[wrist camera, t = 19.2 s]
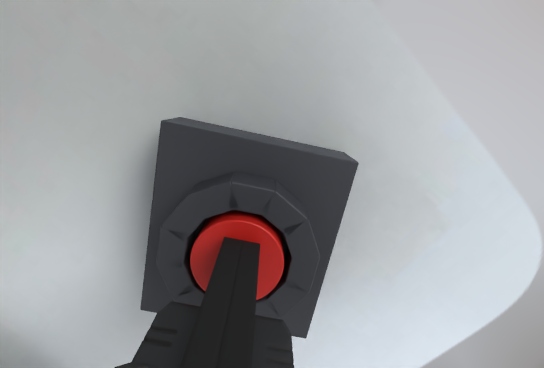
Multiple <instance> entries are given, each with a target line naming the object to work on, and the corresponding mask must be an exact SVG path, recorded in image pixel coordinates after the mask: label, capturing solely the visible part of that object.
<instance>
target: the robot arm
mask: <svg viewBox="0 0 544 368" xmlns="http://www.w3.org/2000/svg"><path fill="white" fill-rule="evenodd" d="M259 256H260V243H255V242H249V241H244V240H239V239H234V238H228V237H224V239H223V242H222V245H221V248H220V251H219V253H218V256H217V259H216V262H215V265H214V268H213V271H212V274H211V277H210V280H209V283H208V286H207V289H206V291H205V294H204V297H203V300H202V303H201V306H195V305H189V304H184V303H178V302H172V301H171V302H170V303H169V304H167V305H166V306H165V307H164V308H162V309H161V310H160V311H159V312H158V313H157V315H156V317H155V319H154V321H153V323H152V324H151V327H150V329H149V330H148V332H147V334H146V336H145V338H144V341H142V343H141V345H140V347H139V349H138V351H137V353H136V354H135V356H134V358H133V360H132V362H131V363H127V364H124V365H121V366H117V367H115V368H294V365H293V352H292V339H291V333H290V331H289V329H288V327H287V325H286V324H285V322H284V320H281V319H275V318H270V317H264V316H258V315H255V311H256V297H257V284H258V270H259Z"/></svg>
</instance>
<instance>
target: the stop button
mask: <svg viewBox="0 0 544 368" xmlns="http://www.w3.org/2000/svg"><path fill="white" fill-rule="evenodd" d="M224 237H228V238H234V239H239V240H244V241H249V242H255V243H260V256H259V270H258V284H257V297H256V300H258V299H260V298H262V297H264V296H265V295H267V294H268V293H269V292H271V291H272V290H273V289H274V288H275V286H276V285H277V284H278V282H279V280H280V278H281V276H282V273H283V269H284V253H283V242H282V236H281V233H280V231H279V229H278V228H276V227H275V226H274V225H273V224H272V223H270V222H269V221H268V220H267V219H266V218H264V217H263V216H262V215H258V214H253V213H248V212H243V211H238V210H231V211H228V212H225V213H222V214H219V215H215V216H212V217H210V218H209V219H208V220H207V221H206V223H205V224H204V226H203V228H202V229H201V231H200V233H199V235H198V237H197V239H196V241H195V242H194V245H193V247H192V250H191V254H190V266H191V270H192V273H193V276H194V278H195V280H196V282H197V283H198V284H199V286H200V287H201V288H202V289H203V290H204V291H206V289H207V286H208V283H209V280H210V277H211V274H212V271H213V268H214V265H215V262H216V259H217V256H218V253H219V251H220V248H221V245H222V242H223V239H224Z"/></svg>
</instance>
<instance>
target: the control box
mask: <svg viewBox="0 0 544 368" xmlns="http://www.w3.org/2000/svg"><path fill="white" fill-rule="evenodd" d="M357 166H358V162H357V161H355V160H354V159H353V158H351V157H350V156H348V155H347V154H345V153H344V152H340V151H335V150H330V149H326V148H321V147H316V146H312V145H307V144H302V143H298V142H293V141H288V140H284V139H279V138H275V137H270V136H265V135H261V134H256V133H251V132H247V131H242V130H237V129H233V128H228V127H223V126H219V125H214V124H209V123H205V122H200V121H195V120H191V119H186V118H181V117H178V118H173V119H168V120H162V121H161V127H160V136H159V145H158V154H157V163H156V173H155V182H154V191H153V200H152V209H151V218H150V227H149V236H148V246H147V255H146V264H145V273H144V282H143V291H142V300H141V310H145V311H151V312H157V313H158V312H159V311H160V310H161V309H162V308H164V307H165V306H166V305H167V304H169V303H170V302H171V301H172V302H178V303H184V304H189V305H195V306H201V303H202V300H203V297H204V294H205V291H204V290H203V289H202V288H201V287H200V286H199V284H198V283H197V282H196V280H195V278H194V276H193V273H192V270H191V266H190V254H191V250H192V247H193V245H194V242H195V241H196V239H197V237H198V235H199V233H200V231H201V229H202V228H203V226H204V224H205V223H206V221H207V220H208V219H209V218H210V217H212V216H215V215H219V214H222V213H225V212H228V211H231V210H238V211H243V212H248V213H253V214H258V215H262V216H263V217H264V218H266V219H267V220H268V221H269V222H270V223H272V224H273V225H274V226H275V227H276V228H278V229H279V231H280V233H281V236H282V242H283V253H284V269H283V273H282V276H281V278H280V280H279V282H278V284H277V285H276V286H275V288H274V289H273V290H272V291H271V292H269V293H268V294H267V295H265V296H264V297H262V298H260V299H258V300H256V311H255V315H258V316H264V317H270V318H275V319H281V320H284V322H285V324H286V325H287V327H288V329H289V331H290V333H291V336H295V337H301V338H306V337H307V333H308V330H309V327H310V323H311V320H312V317H313V313H314V310H315V307H316V303H317V300H318V297H319V293H320V290H321V287H322V283H323V280H324V277H325V273H326V270H327V267H328V263H329V260H330V257H331V253H332V250H333V246H334V243H335V240H336V236H337V233H338V230H339V226H340V223H341V220H342V216H343V213H344V210H345V206H346V203H347V200H348V196H349V193H350V190H351V186H352V183H353V180H354V176H355V173H356V170H357Z"/></svg>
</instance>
